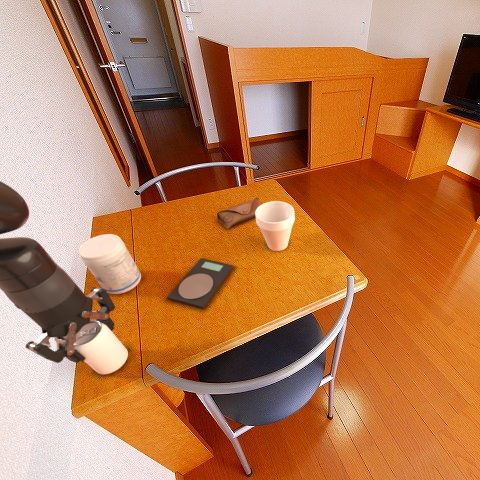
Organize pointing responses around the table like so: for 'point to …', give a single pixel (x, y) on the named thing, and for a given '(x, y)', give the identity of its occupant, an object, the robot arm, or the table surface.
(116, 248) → the supplement tub
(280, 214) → the cup
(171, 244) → the table surface
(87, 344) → the can
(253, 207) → the sunglasses case
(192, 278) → the scale
